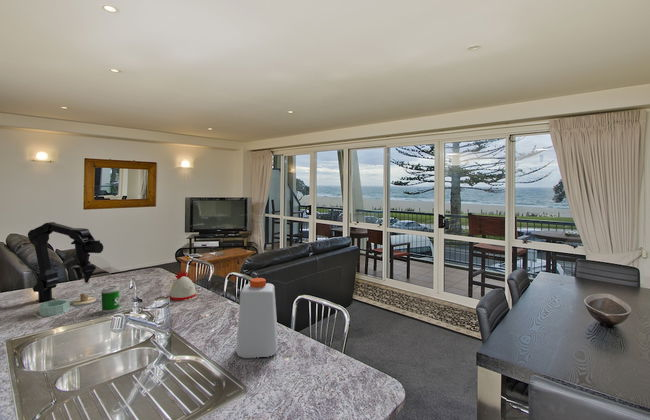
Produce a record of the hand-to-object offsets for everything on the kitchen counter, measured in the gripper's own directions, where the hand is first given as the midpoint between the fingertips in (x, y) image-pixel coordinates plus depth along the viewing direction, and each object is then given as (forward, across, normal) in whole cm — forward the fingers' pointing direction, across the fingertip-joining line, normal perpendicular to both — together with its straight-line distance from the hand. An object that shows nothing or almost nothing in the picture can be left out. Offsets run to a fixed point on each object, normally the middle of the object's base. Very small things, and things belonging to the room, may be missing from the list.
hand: (82, 281), depth 175 cm
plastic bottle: (+12, +113, +19) cm, 115 cm away
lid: (+12, 0, 0) cm, 12 cm away
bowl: (+12, +4, -14) cm, 19 cm away
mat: (+12, 0, 0) cm, 12 cm away
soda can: (+12, +24, +4) cm, 27 cm away
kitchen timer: (+12, +32, +38) cm, 51 cm away
